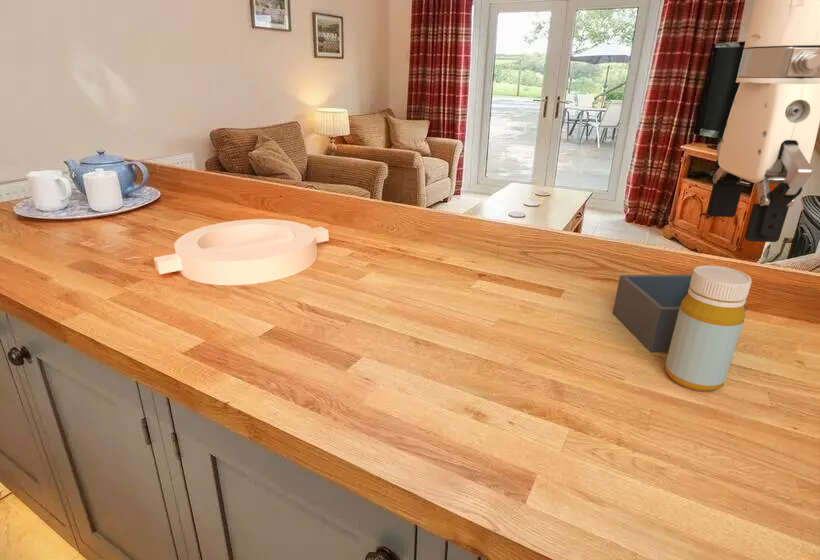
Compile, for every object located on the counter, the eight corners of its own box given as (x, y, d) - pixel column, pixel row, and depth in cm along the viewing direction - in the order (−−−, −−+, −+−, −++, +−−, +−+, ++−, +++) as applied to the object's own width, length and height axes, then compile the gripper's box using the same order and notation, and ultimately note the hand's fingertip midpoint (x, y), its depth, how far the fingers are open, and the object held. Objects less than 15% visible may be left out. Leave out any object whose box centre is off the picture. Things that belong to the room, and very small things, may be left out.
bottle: (691, 397, 61) (722, 288, 56) (652, 367, 68) (676, 266, 62) (736, 389, 63) (770, 282, 57) (693, 361, 69) (721, 261, 64)
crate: (684, 311, 84) (694, 274, 81) (733, 350, 72) (746, 307, 69) (612, 313, 83) (619, 274, 80) (650, 352, 71) (660, 309, 69)
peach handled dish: (332, 241, 115) (331, 222, 113) (289, 290, 90) (287, 265, 88) (220, 235, 119) (217, 216, 117) (148, 280, 93) (143, 256, 91)
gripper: (885, 67, 42) (820, 254, 49) (775, 67, 58) (737, 209, 65) (790, 68, 43) (740, 251, 50) (707, 68, 59) (677, 207, 66)
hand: (738, 227), depth 57 cm, fingers open, 9 cm apart
